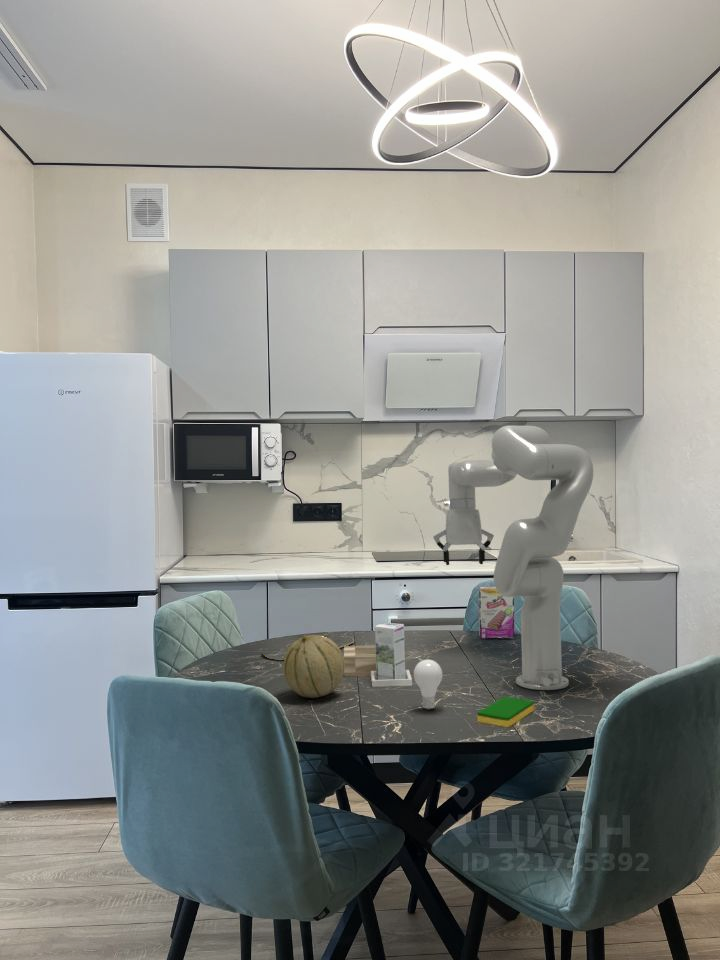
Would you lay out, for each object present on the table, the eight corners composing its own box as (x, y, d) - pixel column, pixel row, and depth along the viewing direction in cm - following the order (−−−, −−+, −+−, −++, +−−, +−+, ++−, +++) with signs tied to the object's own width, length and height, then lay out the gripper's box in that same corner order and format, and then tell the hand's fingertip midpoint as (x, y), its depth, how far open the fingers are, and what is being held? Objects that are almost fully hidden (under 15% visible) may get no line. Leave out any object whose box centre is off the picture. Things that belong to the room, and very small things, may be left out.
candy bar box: (479, 640, 237) (478, 588, 237) (479, 636, 242) (477, 586, 242) (515, 639, 236) (514, 588, 236) (513, 636, 241) (512, 586, 241)
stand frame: (412, 685, 185) (412, 679, 185) (372, 686, 185) (372, 680, 185) (409, 675, 195) (408, 669, 195) (370, 676, 195) (370, 670, 195)
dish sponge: (476, 723, 155) (476, 712, 155) (504, 706, 167) (504, 696, 167) (508, 729, 151) (508, 717, 151) (534, 711, 163) (534, 700, 163)
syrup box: (406, 679, 191) (404, 623, 191) (395, 685, 186) (393, 627, 186) (387, 677, 194) (385, 621, 194) (375, 682, 189) (374, 625, 189)
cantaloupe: (355, 691, 181) (353, 629, 181) (328, 708, 168) (326, 641, 168) (302, 686, 187) (300, 626, 187) (271, 702, 174) (270, 637, 174)
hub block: (397, 674, 196) (396, 655, 196) (344, 676, 195) (343, 657, 196) (394, 662, 210) (393, 644, 210) (344, 663, 209) (344, 646, 210)
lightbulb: (415, 705, 168) (413, 656, 168) (443, 705, 168) (441, 656, 168) (414, 713, 162) (412, 663, 162) (443, 713, 161) (442, 663, 161)
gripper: (433, 506, 211) (435, 566, 211) (494, 504, 211) (496, 564, 210) (431, 505, 219) (433, 563, 218) (490, 504, 218) (492, 562, 218)
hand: (464, 564), depth 214 cm, fingers open, 9 cm apart
